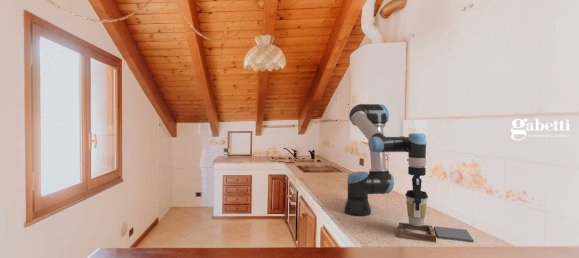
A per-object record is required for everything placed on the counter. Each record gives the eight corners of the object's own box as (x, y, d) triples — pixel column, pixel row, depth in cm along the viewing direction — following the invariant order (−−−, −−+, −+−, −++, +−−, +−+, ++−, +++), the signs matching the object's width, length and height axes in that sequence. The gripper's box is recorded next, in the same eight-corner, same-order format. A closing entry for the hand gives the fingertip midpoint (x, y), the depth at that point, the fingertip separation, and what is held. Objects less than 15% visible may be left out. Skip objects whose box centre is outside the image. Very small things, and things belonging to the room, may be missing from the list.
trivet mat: (434, 228, 149) (434, 226, 149) (466, 231, 144) (466, 229, 144) (438, 238, 136) (438, 236, 136) (473, 242, 131) (473, 240, 131)
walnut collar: (398, 227, 150) (398, 222, 150) (431, 230, 145) (431, 225, 145) (399, 237, 136) (399, 232, 136) (436, 242, 131) (436, 236, 131)
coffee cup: (421, 220, 146) (421, 189, 146) (431, 227, 136) (432, 194, 136) (401, 220, 145) (401, 189, 145) (410, 227, 136) (410, 194, 135)
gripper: (407, 163, 152) (406, 207, 152) (409, 169, 131) (408, 220, 131) (423, 163, 150) (422, 208, 150) (428, 170, 128) (427, 222, 129)
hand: (416, 213), depth 141 cm, fingers closed on coffee cup, 10 cm apart
